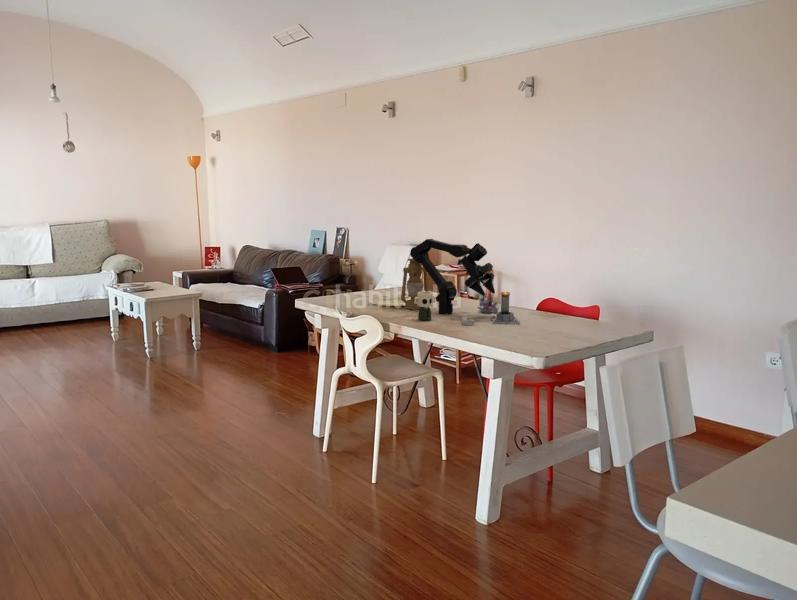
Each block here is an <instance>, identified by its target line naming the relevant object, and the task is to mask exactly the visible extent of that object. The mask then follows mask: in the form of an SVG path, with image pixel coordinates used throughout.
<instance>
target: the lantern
mask: <svg viewBox="0 0 797 600" xmlns="http://www.w3.org/2000/svg"><path fill="white" fill-rule="evenodd" d="M408 261H409V263H408ZM407 264H408V265H407ZM402 271H403V277H402V278H403V279H402V287H401V295H400V299H401V301H402V303H404V309H407V310H419V309H420V306H418V305H417V304H415V303H414V298H415V297H417V293H418V292H423V290H424V292H430V290H429V282H428V273H427V271H426V270H425V269H424V267H423V266H422V265H421V264H420V263H418V262H417V261H415V260H414V259H413V258H412V257H411V255H410V254H409V256H408V258H407V260H406V263H405V266H404V267H403V269H402ZM422 274H423V280H422V277H421V276H422ZM408 277H409V278H408ZM407 278H408V280H407ZM406 288H407V289H406ZM406 290H407V292H408V293H406ZM406 295H407V296H408V297H410V299H408V300H407V299H405V298H406ZM416 302H417V299H416Z"/></svg>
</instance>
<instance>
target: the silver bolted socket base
mask: <svg viewBox="0 0 797 600" xmlns="http://www.w3.org/2000/svg"><path fill="white" fill-rule="evenodd" d="M495 314H496V315H492V316H490V321H491V323H492V322H493V323H492V325H520V324H521V321H520V320H519V319H518V318H517V316H515V314H514V312H511V311H509V314H501V311H497V312H496V313H495Z"/></svg>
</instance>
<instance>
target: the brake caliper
mask: <svg viewBox="0 0 797 600" xmlns="http://www.w3.org/2000/svg"><path fill="white" fill-rule="evenodd" d="M478 298H479V303H478V304H479V306H477V307H476V308H478V310H480V311H481V312H482V314H492V313H494V314H496V312H499V310H500V309H499V304H498V301H497V300H496V301H494V302H493V297H492V292H490V291H489V290H488V294H487V297H485V295H484V296H483V295H481V294H479V296H478Z"/></svg>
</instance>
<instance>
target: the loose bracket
mask: <svg viewBox="0 0 797 600" xmlns="http://www.w3.org/2000/svg"><path fill="white" fill-rule="evenodd" d="M461 324H463V325H474V326H475V320H474V319H467V317H466V316H462V317H461ZM463 325H462V326H463Z"/></svg>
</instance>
